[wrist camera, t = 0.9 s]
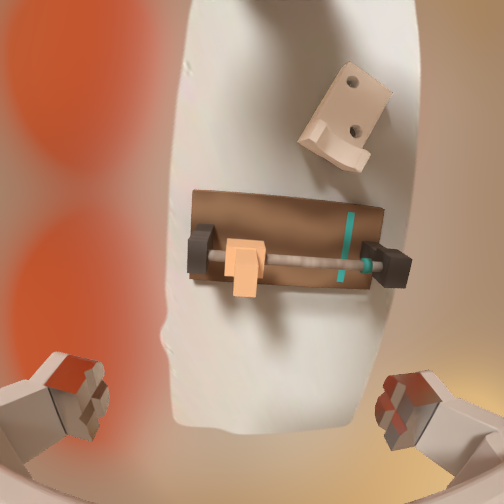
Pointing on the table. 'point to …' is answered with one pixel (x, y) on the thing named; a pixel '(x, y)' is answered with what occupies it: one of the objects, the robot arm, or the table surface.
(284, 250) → the linear slide rail
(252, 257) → the orange l-shaped block
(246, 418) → the table surface
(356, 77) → the bracket
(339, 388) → the table surface
